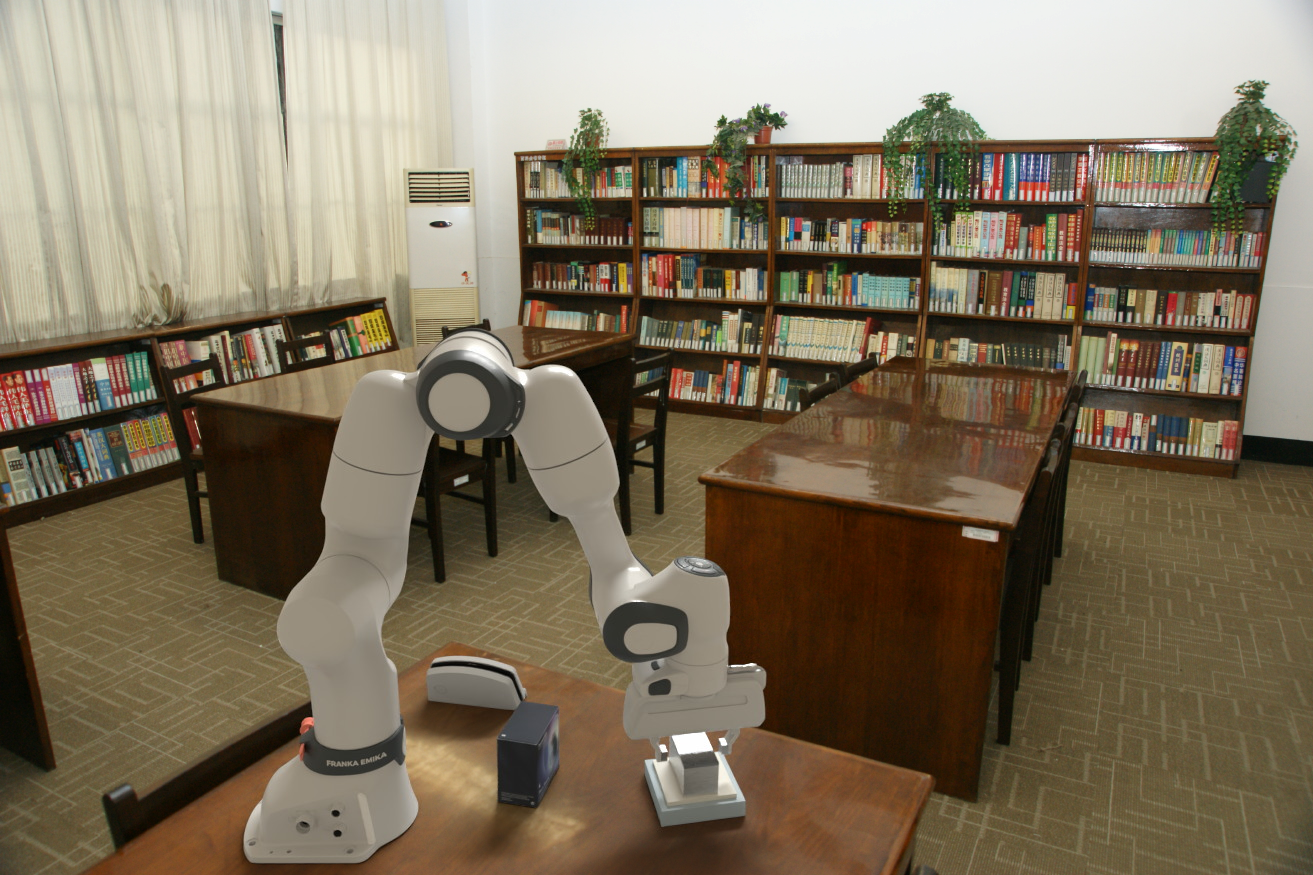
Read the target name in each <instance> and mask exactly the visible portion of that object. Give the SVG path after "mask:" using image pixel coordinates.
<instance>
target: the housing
mask: <svg viewBox="0 0 1313 875" xmlns="http://www.w3.org/2000/svg"><path fill="white" fill-rule="evenodd" d="M706 733H707V732H702V733H693V734H684V735H674V736H668V737H669V740H668V743H669V744H668V757H669V762H670V764H671V767H672V769H673V772H674V775H675V777H676V780H677V783H678V785H679V788H680V791H681V793H682V796H683V798H688V797H696V796H704V795H712V794H718V777H719V762H718V759H717V757H716V755H715V753H714V752H715V751H714V749H713V747H712V746H713V745H711V742H710V740H709V738H708V735H707V734H706Z"/></svg>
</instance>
